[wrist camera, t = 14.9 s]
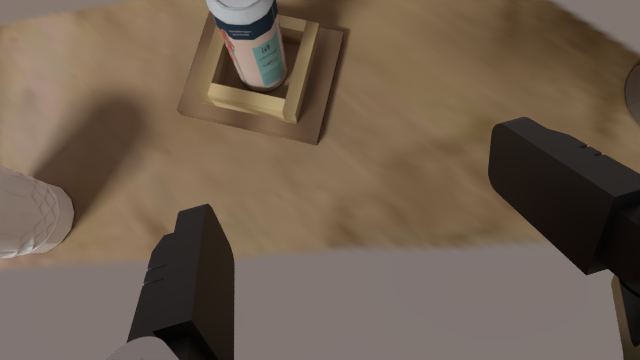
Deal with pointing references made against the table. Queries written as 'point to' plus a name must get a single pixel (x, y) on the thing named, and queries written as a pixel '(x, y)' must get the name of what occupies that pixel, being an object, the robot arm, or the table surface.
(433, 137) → the table surface
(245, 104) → the caddy
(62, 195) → the white cup
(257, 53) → the beer can
